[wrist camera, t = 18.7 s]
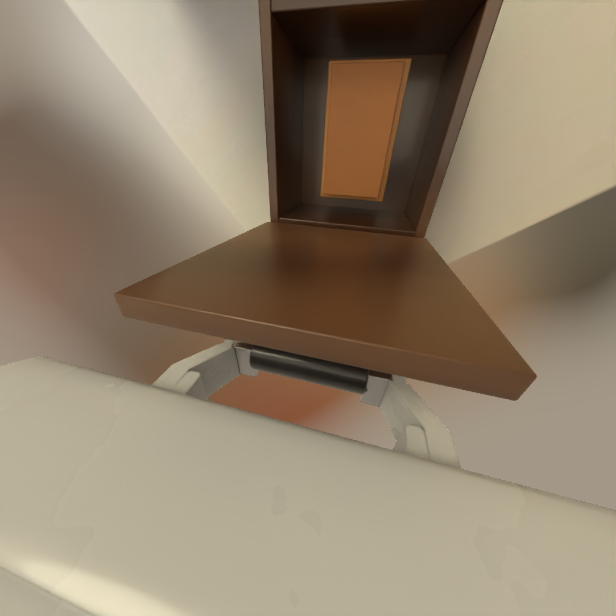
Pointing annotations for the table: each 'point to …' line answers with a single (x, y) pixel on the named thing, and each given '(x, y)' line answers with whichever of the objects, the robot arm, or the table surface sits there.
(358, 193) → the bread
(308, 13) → the box
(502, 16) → the table surface
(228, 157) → the table surface
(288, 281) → the lid
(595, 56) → the table surface
